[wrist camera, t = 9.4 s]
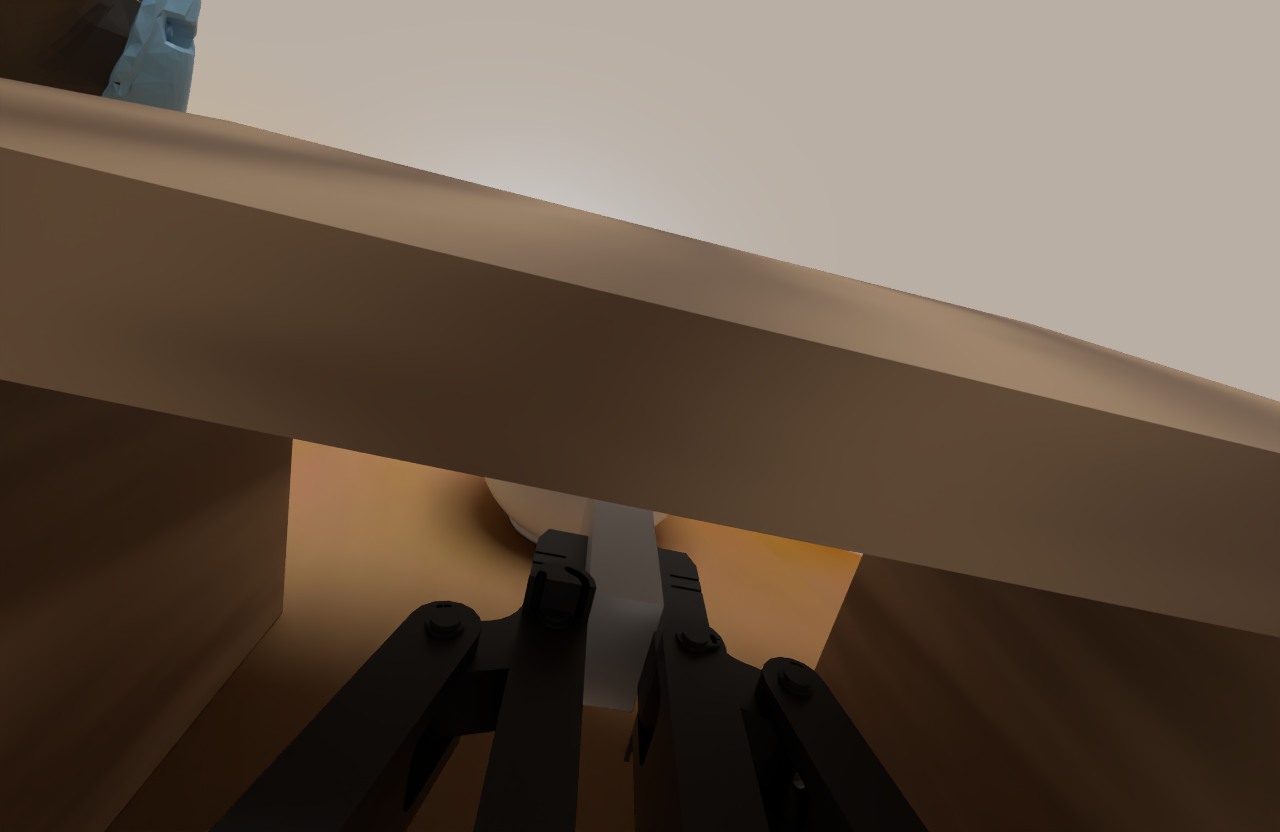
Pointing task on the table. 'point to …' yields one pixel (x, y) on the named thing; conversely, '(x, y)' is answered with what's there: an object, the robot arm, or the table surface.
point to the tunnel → (604, 465)
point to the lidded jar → (542, 508)
